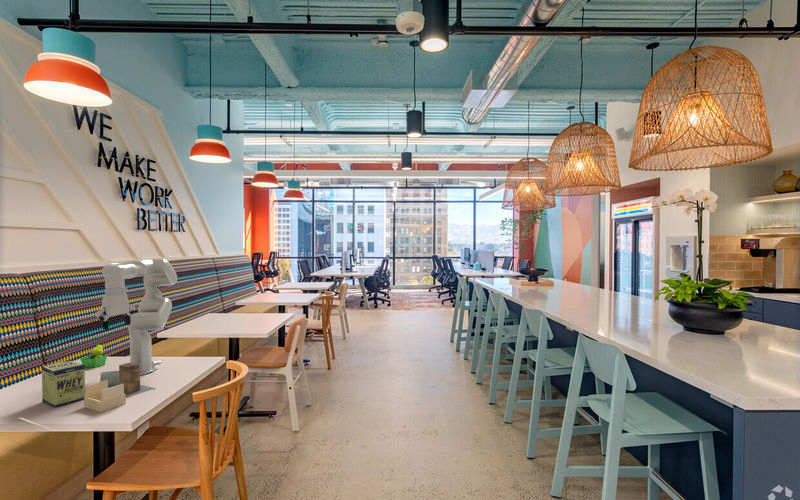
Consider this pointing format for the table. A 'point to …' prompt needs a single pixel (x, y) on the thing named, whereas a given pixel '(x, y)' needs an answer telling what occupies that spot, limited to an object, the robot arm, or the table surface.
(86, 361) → the fruit basket
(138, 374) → the walnut block
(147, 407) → the table surface
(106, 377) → the ceramic mug
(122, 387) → the beige open box
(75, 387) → the protein box
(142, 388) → the rubber mat
